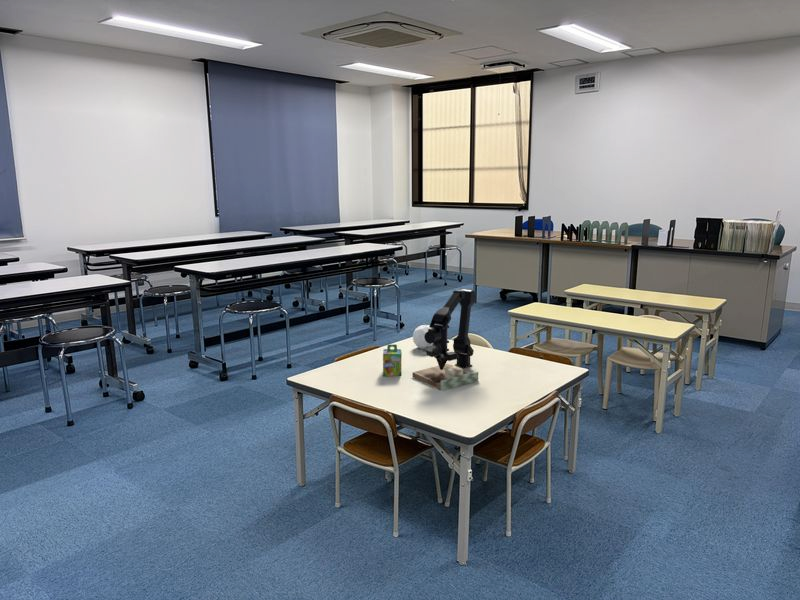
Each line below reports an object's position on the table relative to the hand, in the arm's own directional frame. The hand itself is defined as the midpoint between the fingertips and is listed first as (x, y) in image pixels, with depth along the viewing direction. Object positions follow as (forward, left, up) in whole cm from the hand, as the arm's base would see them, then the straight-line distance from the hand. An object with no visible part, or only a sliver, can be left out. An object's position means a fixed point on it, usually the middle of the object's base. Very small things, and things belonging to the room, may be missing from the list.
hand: (441, 369), depth 277 cm
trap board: (0, +2, -4) cm, 5 cm away
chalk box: (+16, -19, -4) cm, 25 cm away
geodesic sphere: (-23, -44, -4) cm, 50 cm away
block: (0, +10, -1) cm, 10 cm away
